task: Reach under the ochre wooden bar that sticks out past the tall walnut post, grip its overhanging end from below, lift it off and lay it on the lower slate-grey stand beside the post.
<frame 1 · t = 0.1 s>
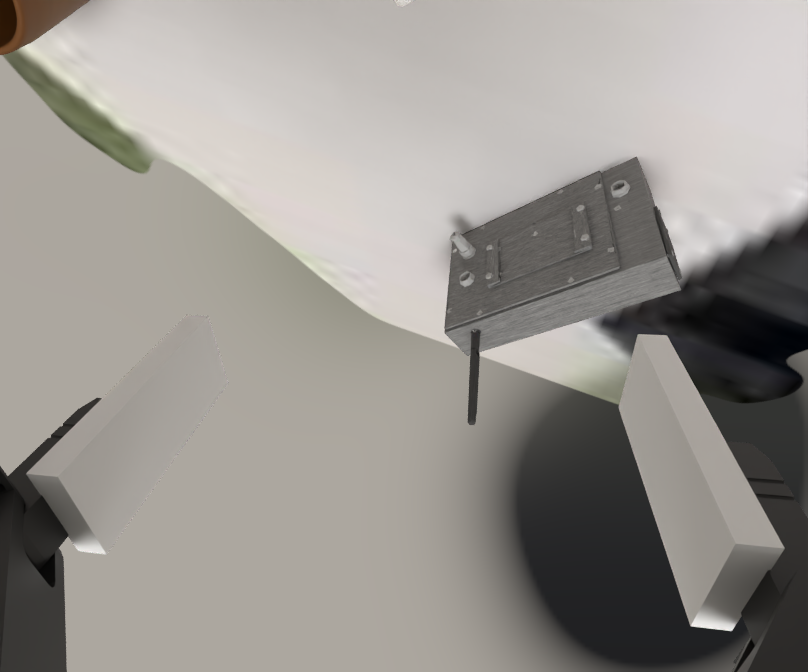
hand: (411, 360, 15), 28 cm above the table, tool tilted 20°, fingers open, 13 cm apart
electronic device: (539, 204, 43), on the table
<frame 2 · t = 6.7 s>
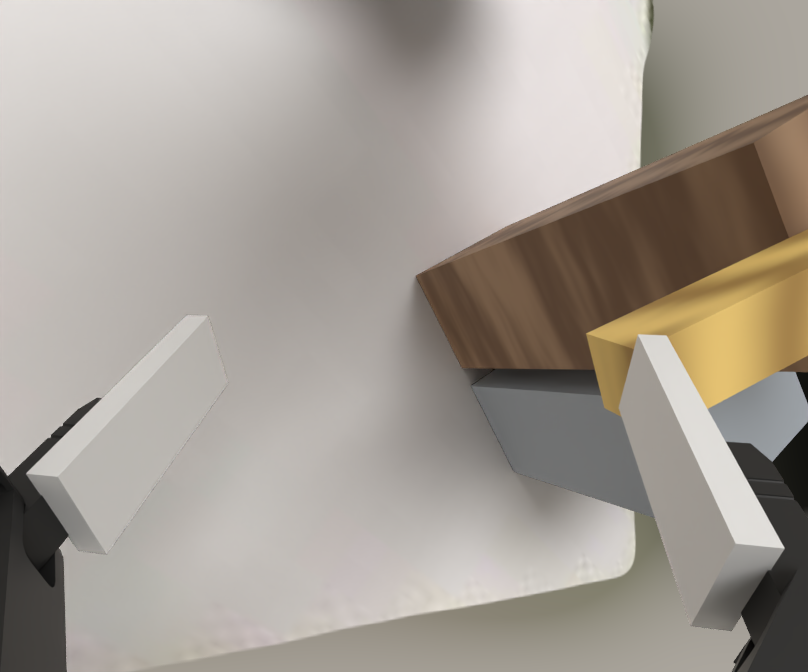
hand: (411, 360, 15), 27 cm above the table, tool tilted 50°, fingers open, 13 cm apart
walnut post: (485, 295, 49), on the table
grey stand: (541, 393, 51), on the table
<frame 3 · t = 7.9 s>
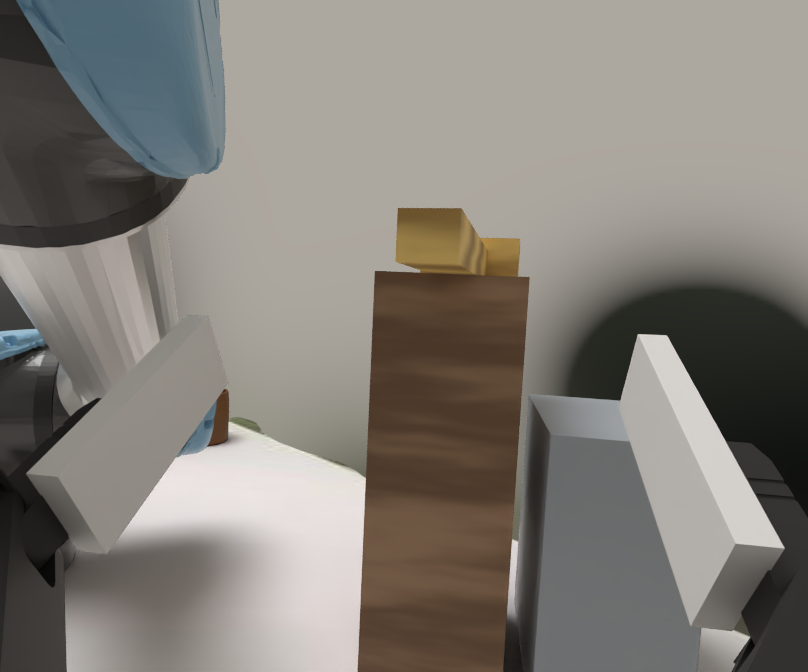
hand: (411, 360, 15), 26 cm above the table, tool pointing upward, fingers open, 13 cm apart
mug: (194, 443, 90), on the table
walnut post: (434, 647, 40), on the table
handle bar: (458, 276, 34), point 30 cm above the table, touching walnut post
grey stand: (584, 661, 39), on the table
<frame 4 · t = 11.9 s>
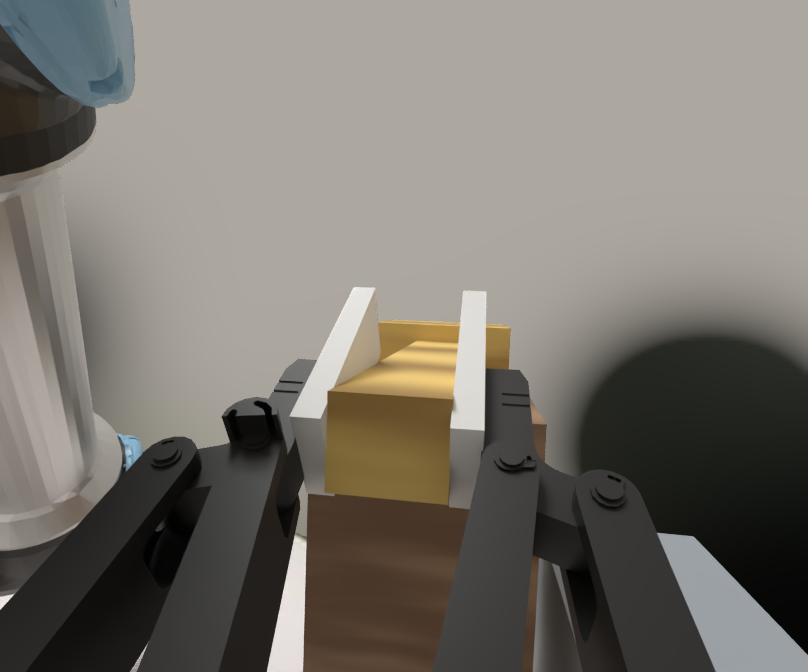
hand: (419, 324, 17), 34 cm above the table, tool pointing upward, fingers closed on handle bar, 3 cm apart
handle bar: (430, 402, 23), point 30 cm above the table, touching gripper
when the fingers open (25 cm above the table, at t = 18.8 s): handle bar drops 2 cm, resting on grey stand.
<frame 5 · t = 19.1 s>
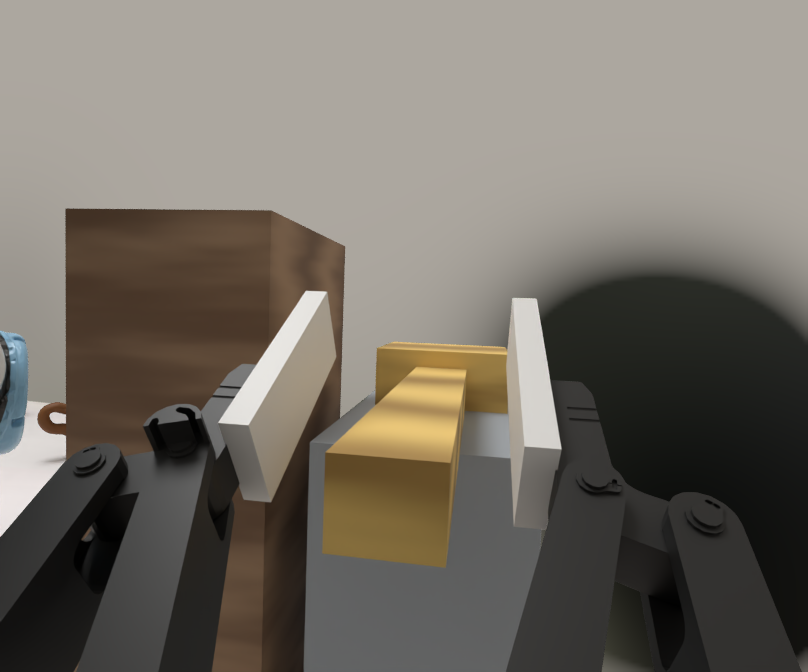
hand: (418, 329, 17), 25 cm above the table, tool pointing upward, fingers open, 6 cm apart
mug: (83, 457, 79), on the table
handle bar: (430, 434, 23), point 20 cm above the table, touching grey stand
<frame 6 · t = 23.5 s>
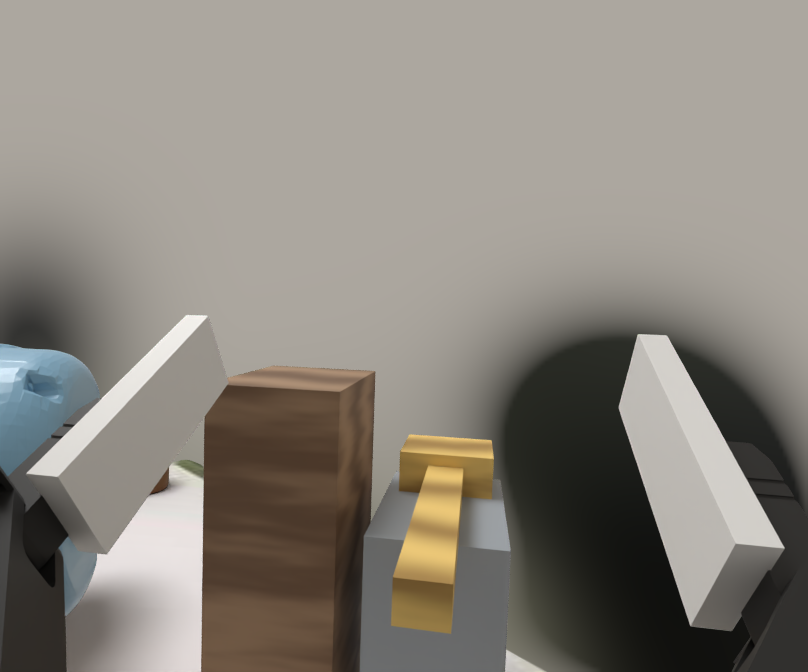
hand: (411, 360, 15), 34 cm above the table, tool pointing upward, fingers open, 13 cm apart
handle bar: (439, 525, 36), point 20 cm above the table, touching grey stand
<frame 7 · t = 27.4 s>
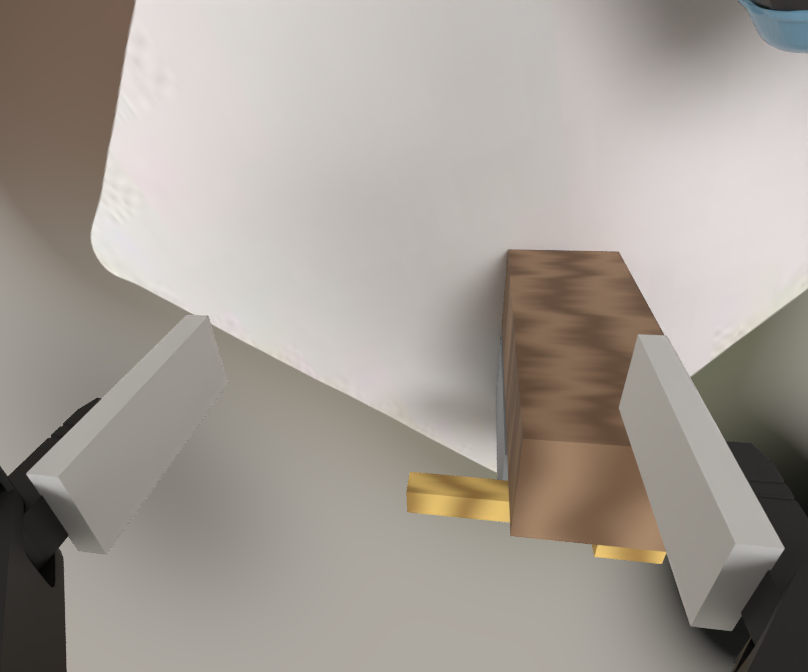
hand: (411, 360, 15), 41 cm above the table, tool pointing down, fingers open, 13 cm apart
walnut post: (556, 290, 57), on the table
handle bar: (531, 493, 48), point 20 cm above the table, touching grey stand
grey stand: (552, 371, 64), on the table
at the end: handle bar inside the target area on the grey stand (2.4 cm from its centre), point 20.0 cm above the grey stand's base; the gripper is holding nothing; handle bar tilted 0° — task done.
